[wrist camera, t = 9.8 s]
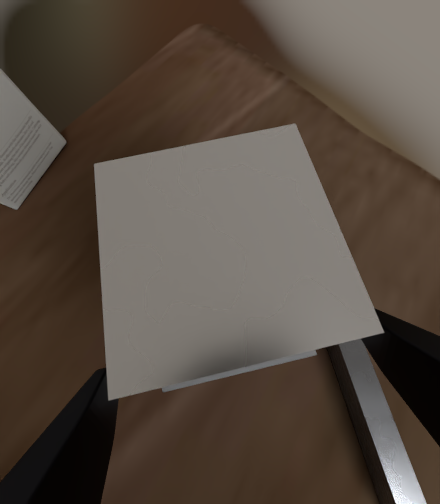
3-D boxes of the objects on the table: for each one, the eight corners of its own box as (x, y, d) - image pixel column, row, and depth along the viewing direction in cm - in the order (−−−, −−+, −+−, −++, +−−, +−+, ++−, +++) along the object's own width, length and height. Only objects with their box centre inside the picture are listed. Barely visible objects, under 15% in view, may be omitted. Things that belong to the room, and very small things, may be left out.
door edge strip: (409, 509, 13) (441, 543, 11) (384, 516, 13) (412, 551, 11) (297, 207, 19) (305, 194, 17) (280, 210, 19) (286, 198, 17)
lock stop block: (266, 324, 15) (384, 332, 4) (196, 341, 15) (108, 400, 4) (248, 257, 17) (295, 123, 5) (184, 271, 17) (94, 163, 5)
